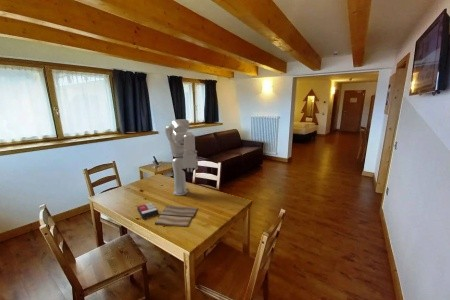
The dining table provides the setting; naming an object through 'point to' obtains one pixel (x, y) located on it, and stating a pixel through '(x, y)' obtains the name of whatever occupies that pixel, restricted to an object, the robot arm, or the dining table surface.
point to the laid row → (179, 211)
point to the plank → (173, 220)
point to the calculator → (147, 210)
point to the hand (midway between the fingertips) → (190, 176)
